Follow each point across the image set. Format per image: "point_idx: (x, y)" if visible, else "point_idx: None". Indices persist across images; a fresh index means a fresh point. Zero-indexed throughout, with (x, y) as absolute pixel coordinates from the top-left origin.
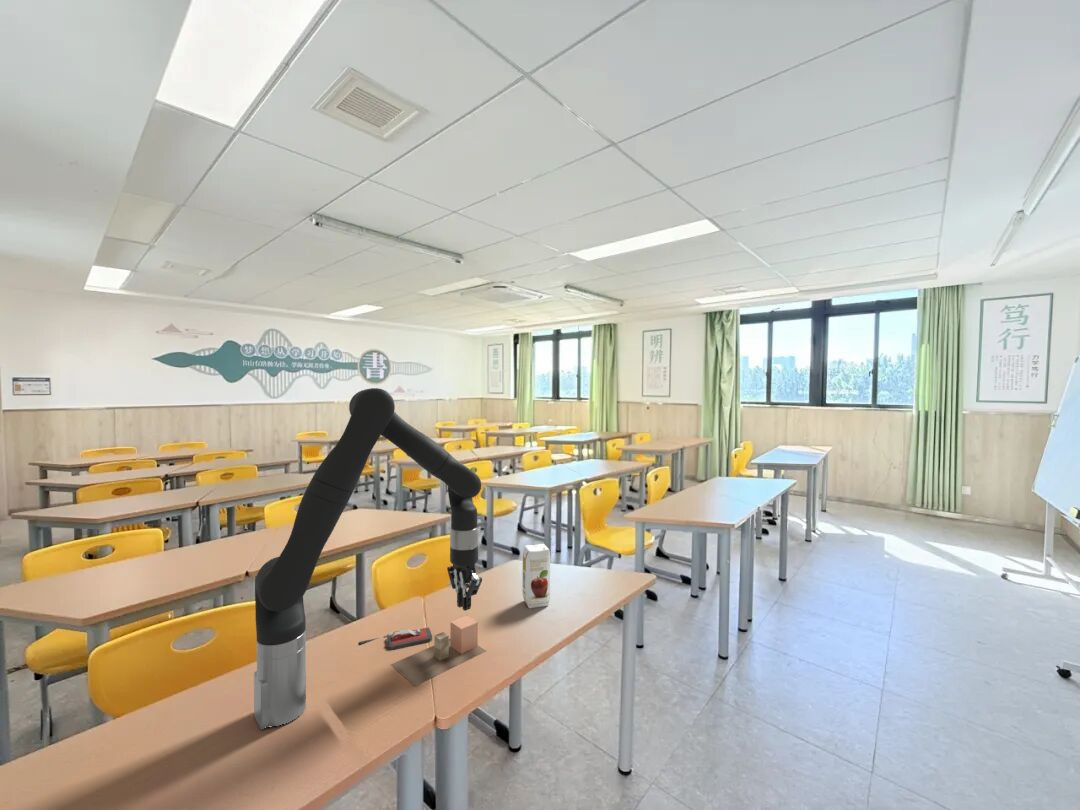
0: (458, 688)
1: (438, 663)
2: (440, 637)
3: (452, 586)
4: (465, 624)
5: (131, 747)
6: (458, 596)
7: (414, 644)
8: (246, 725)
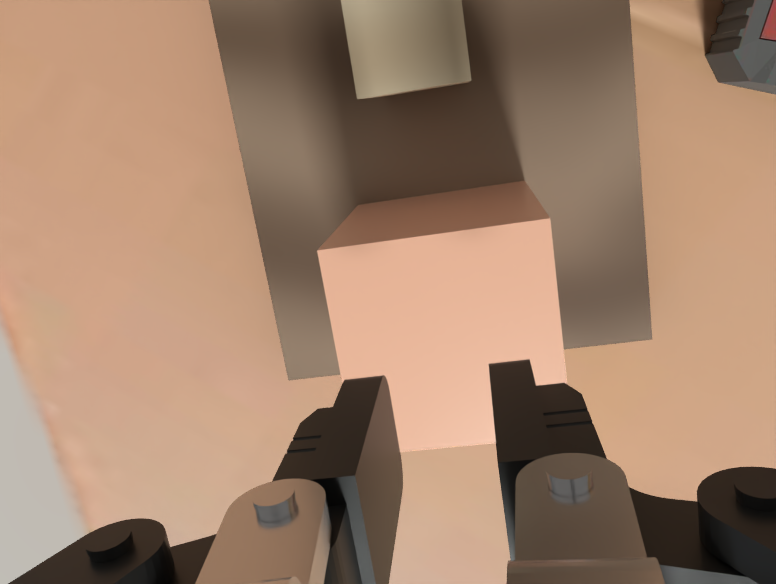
0: (55, 22)
1: None
2: (376, 2)
3: (773, 489)
4: (389, 333)
5: None
6: (505, 440)
7: None
8: None
